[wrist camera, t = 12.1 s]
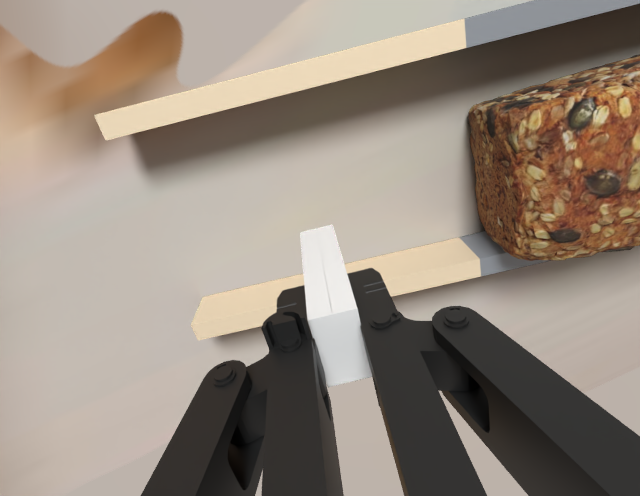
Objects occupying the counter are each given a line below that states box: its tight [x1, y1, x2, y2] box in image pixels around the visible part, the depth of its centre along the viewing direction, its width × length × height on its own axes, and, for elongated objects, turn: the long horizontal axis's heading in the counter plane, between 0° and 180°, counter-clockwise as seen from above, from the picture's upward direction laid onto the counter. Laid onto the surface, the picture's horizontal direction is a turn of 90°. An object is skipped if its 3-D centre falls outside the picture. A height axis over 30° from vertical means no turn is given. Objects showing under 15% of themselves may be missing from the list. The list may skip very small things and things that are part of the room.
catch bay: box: [94, 0, 640, 340], centre depth 27 cm, size 17×46×4 cm, turn 103°
